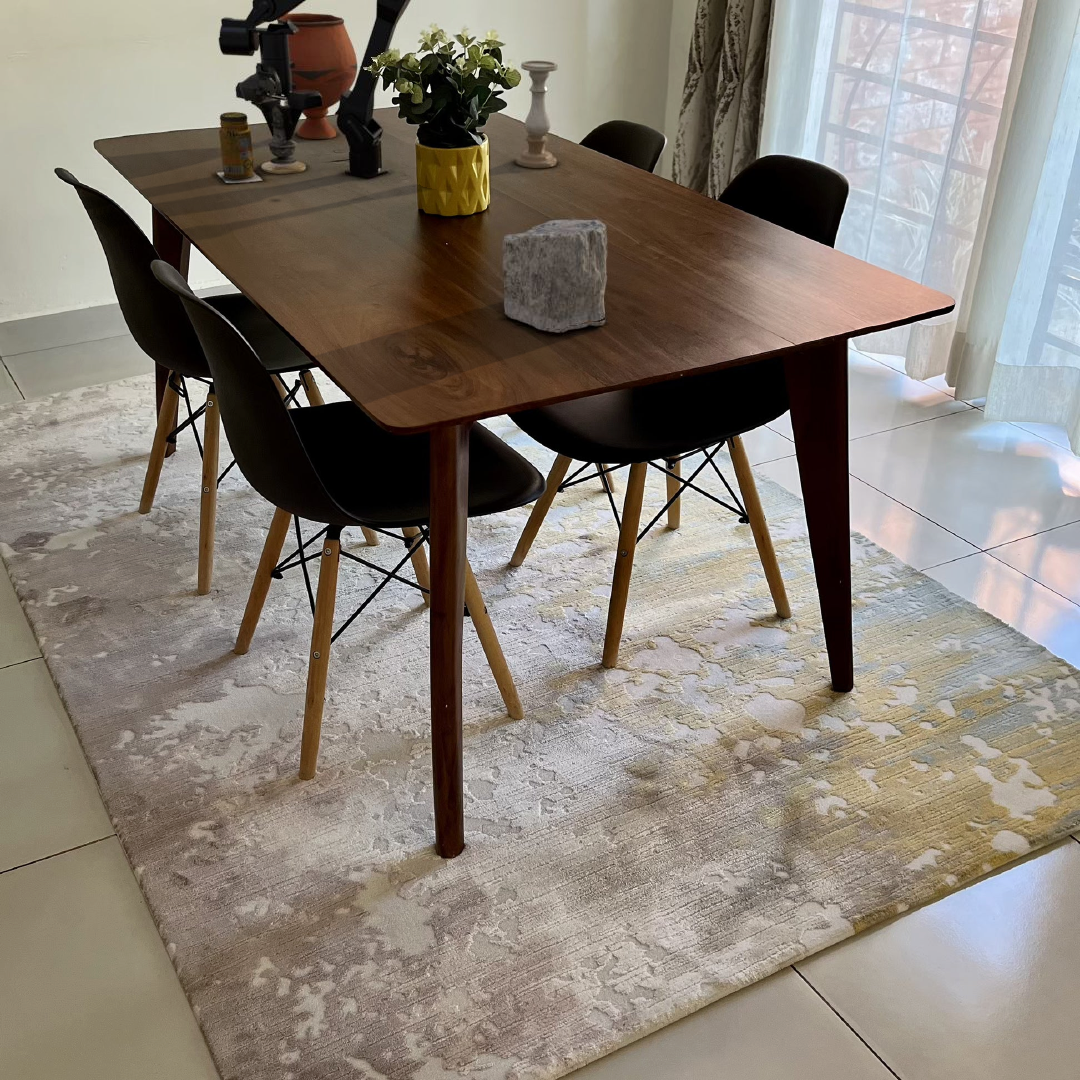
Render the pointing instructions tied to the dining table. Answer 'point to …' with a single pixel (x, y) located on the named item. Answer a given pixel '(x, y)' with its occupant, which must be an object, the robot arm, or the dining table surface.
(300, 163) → the coaster
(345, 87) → the goblet
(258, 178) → the condiment
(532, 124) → the candle holder
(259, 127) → the dining table surface
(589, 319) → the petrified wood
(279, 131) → the grey carved stone piece
